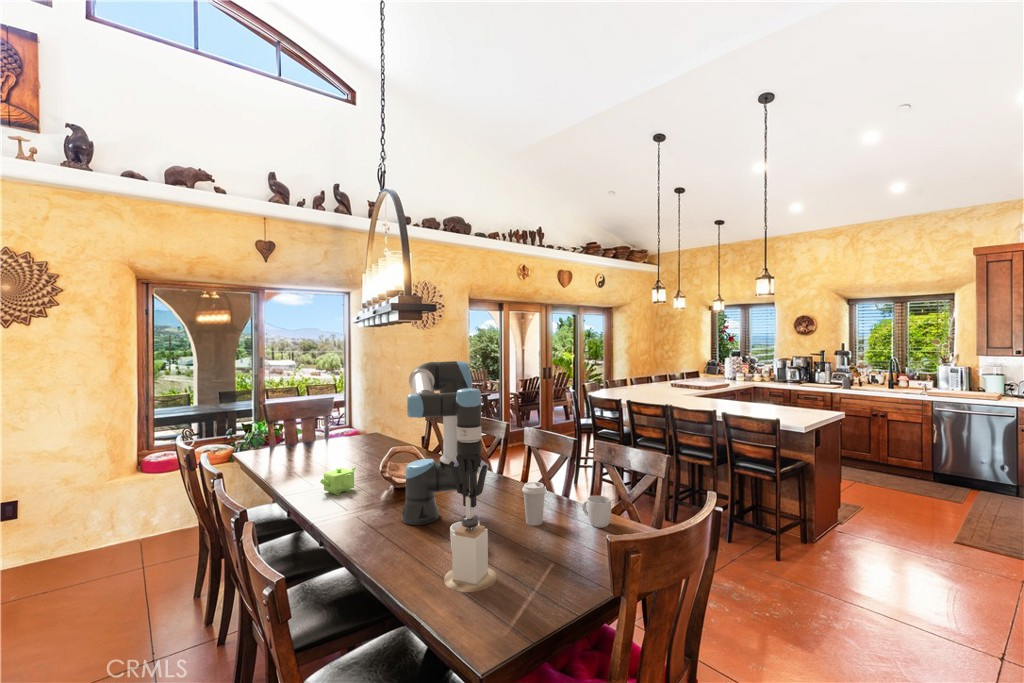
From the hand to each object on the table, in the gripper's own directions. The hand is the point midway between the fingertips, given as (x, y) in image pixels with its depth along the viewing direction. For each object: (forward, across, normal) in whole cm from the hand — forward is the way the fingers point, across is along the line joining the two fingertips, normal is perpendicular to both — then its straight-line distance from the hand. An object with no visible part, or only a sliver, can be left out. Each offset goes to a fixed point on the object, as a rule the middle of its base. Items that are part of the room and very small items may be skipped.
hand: (469, 517), depth 142 cm
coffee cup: (+20, +3, +49) cm, 53 cm away
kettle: (+19, -97, +50) cm, 111 cm away
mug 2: (+20, +26, +57) cm, 66 cm away
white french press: (+19, 0, 0) cm, 19 cm away
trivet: (+19, 0, 0) cm, 19 cm away
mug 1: (+20, -11, +19) cm, 30 cm away
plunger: (+16, 0, 0) cm, 16 cm away
